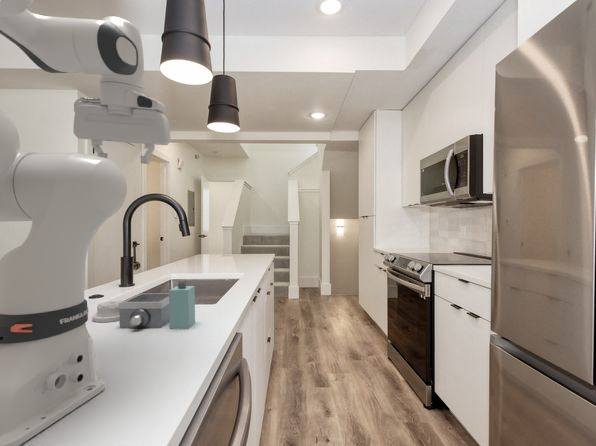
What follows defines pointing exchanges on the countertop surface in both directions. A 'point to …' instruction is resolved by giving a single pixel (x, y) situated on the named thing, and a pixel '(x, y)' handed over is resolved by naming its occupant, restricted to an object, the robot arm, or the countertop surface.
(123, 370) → the countertop surface
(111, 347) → the countertop surface
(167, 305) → the motor
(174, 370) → the countertop surface
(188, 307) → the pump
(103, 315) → the mechanical component
